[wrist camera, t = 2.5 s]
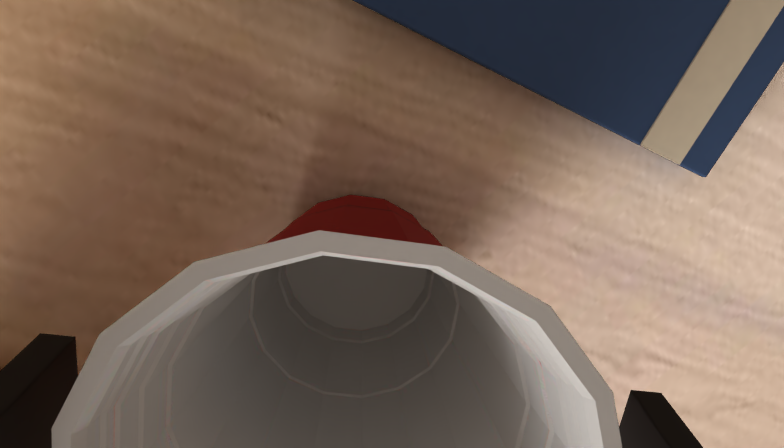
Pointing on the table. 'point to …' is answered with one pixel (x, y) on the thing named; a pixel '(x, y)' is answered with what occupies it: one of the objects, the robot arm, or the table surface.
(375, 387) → the plastic cup
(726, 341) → the table surface
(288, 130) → the table surface
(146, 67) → the table surface
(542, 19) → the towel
